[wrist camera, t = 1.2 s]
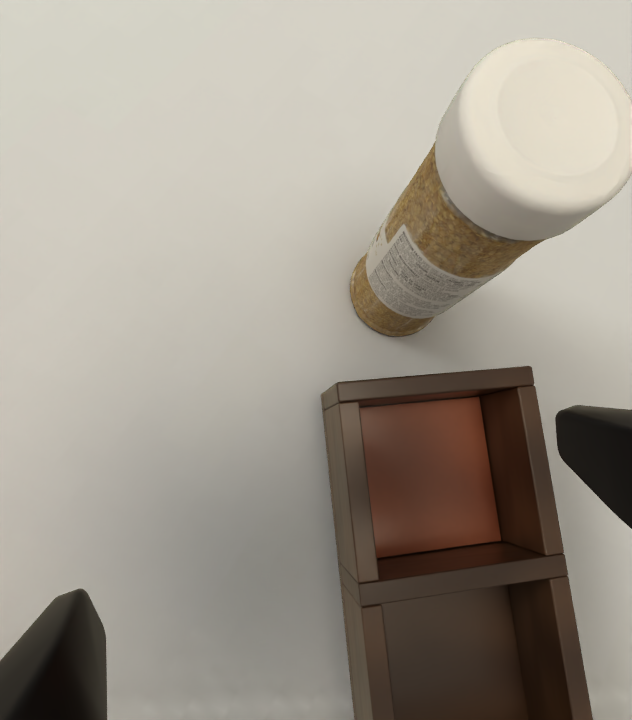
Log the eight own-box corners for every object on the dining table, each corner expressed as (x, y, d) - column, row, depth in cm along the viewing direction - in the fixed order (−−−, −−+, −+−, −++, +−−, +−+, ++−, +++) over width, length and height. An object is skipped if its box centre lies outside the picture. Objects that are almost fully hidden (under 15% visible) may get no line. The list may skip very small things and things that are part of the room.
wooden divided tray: (541, 730, 22) (606, 791, 18) (359, 767, 21) (386, 841, 17) (485, 379, 25) (532, 365, 21) (320, 394, 23) (336, 382, 19)
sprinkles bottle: (393, 231, 25) (552, -6, 12) (456, 298, 25) (686, 131, 12) (327, 288, 24) (423, 97, 11) (392, 359, 24) (566, 248, 11)
